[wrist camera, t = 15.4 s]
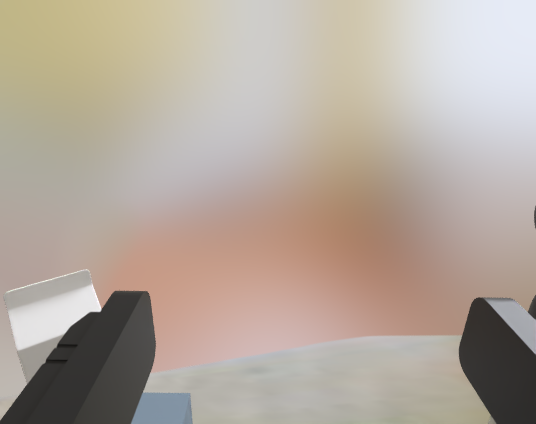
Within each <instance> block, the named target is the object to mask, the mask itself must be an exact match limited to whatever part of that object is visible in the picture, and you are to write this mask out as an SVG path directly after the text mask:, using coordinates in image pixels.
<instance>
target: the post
mask: <svg viewBox="0 0 536 424" xmlns="http://www.w3.org/2000/svg"><path fill="white" fill-rule="evenodd" d="M131 424H193V423H192V411H191V399H190V393H142V396H141V398H140V401H139V404H138V406H137V409H136V412H135V414H134V417H133V420H132V422H131Z"/></svg>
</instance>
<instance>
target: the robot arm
mask: <svg viewBox="0 0 536 424" xmlns="http://www.w3.org/2000/svg"><path fill="white" fill-rule="evenodd" d="M534 222H535V228H536V207H535V212H534ZM155 342H156V341H155V333H154V325H153V316H152V308H151V300H150V296H149V293H148V292H147V291H115V292H114V293H113V294H112V295H111V296H110V298H109V299H108V301H107V302H106V304H105V305H104V307H103V308H102V310H101V311H100V312H89V313H88V314H86V315H85V316H84V317H82V318H81V319H80V320H78V321H77V322H76V323H74V324H73V325H72V326H70V328H69V329H68V330H67V332H66V333H65V334H64V336H63V337H62V338H61V340H60V341H59V342H58V344H57V348H54V349H53V350H52V352H51V353H50V354H49V356H48V357H47V359H46V362H45V364H42V365H41V367H40V368H39V369H38V371H37V372H36V373H35V375H34V376H33V377H32V379H31V380H30V381H29V383H28V384H27V385H26V387H25V388H24V390H23V391H22V392H21V394H20V395H19V396H18V398H17V399H16V400H15V402H14V403H13V404H12V406H11V407H10V408H9V410H8V411H7V412H6V414H5V415H4V416H3V418H2V419H1V420H0V424H131V422H132V420H133V417H134V414H135V412H136V409H137V406H138V404H139V401H140V398H141V396H142V393H143V390H144V388H145V385H146V382H147V380H148V377H149V374H150V372H151V369H152V366H153V362H154V357H155V347H156V343H155ZM459 359H460V363H461V367H462V369H463V372H464V373H465V375H466V377H467V378H468V380H469V381H470V383H471V385H472V386H473V388H474V389H475V391H476V392H477V394H478V396H479V397H480V399H481V400H482V402H483V403H484V405H485V407H486V408H487V410H488V411H489V413H490V415H491V416H490V419H489V422H488V424H536V295H535V297H534V298H533V300H532V303H531V305H530V308H529V311H528V312H527V311H526V310H524V309H523V308H522V307H521V306H520V305H519V304H518V303H517V302H516V301H515V300H513V299H511V298H476V299H474V301H473V302H472V304H471V307H470V311H469V314H468V317H467V321H466V324H465V328H464V332H463V335H462V339H461V342H460V346H459Z"/></svg>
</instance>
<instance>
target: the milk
mask: <svg viewBox="0 0 536 424" xmlns="http://www.w3.org/2000/svg"><path fill="white" fill-rule="evenodd" d="M4 301H5V305H6V308H7V311H8V316H9V319H10V324H11V328H12V333H13V337H14V342H15V346H16V350H17V353H18V356H19V360H20V363H21V366H22V369H23V373H24V376H25V379H26V382H27V384H28V383H29V381H30V380H31V379H32V377H33V376H34V375H35V373H36V372H37V371H38V369H39V368H40V367H41V365H42V364H45V362H46V359H47V357H48V356H49V354H50V353H51V352H52V350H53V349H54V348H57V344H58V342H59V341H60V340H61V338H62V337H63V336H64V334H65V333H66V332H67V330H68V329H69V328H70V326H72V325H73V324H74V323H76V322H77V321H78V320H80V319H81V318H82V317H84V316H85V315H86V314H88V313H89V312H100V311H101V307H100V304H99V302H98V299H97V296H96V293H95V290H94V287H93V285H92V280H91V275H90V272H89V271H88V270H81V271H78V272H74V273H71V274H67V275H64V276H60V277H57V278H53V279H49V280H46V281H42V282H39V283H35V284H32V285H28V286H25V287H21V288H17V289H14V290H10V291H7V292H6V293H5V294H4Z"/></svg>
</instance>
